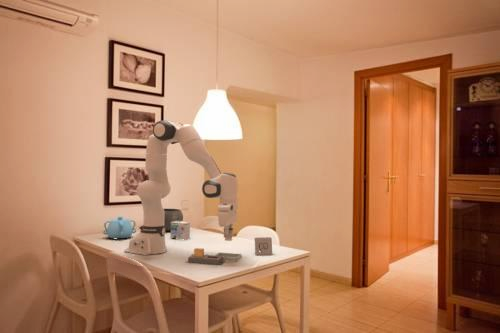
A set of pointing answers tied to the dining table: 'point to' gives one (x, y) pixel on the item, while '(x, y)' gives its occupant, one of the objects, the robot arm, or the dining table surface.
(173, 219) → the dark gray rounded block
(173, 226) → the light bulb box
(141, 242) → the robot arm
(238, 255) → the parts tray
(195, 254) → the fuse
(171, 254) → the dining table surface
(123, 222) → the decorative pot
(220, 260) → the fuse block
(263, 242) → the electrical switch
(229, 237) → the fuse
